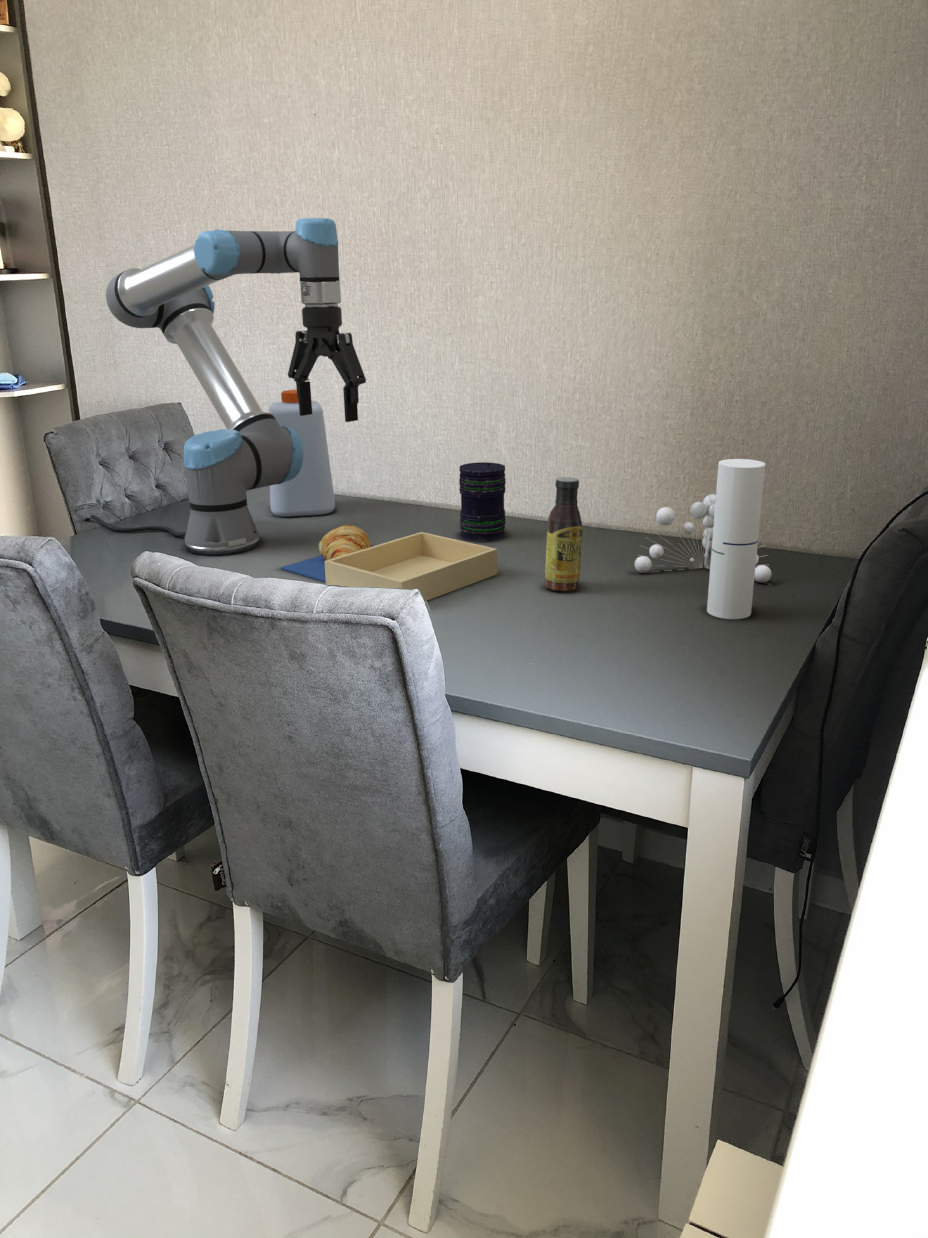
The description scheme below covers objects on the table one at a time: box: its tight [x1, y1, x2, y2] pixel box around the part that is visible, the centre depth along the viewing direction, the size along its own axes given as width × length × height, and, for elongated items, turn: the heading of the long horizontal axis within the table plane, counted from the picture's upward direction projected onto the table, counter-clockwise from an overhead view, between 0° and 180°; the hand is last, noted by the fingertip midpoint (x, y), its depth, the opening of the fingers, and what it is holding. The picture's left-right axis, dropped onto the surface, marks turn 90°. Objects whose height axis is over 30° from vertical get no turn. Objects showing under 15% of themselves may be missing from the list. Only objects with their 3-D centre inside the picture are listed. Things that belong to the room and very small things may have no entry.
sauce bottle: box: [544, 476, 584, 592], centre depth 171 cm, size 6×6×20 cm
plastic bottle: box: [268, 389, 336, 518], centre depth 228 cm, size 15×15×28 cm
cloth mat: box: [280, 544, 375, 583], centre depth 191 cm, size 14×22×1 cm, turn 139°
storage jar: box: [458, 461, 507, 543], centre depth 206 cm, size 10×10×15 cm
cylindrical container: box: [706, 458, 766, 620], centre depth 157 cm, size 7×7×25 cm
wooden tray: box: [325, 531, 498, 602], centre depth 179 cm, size 20×26×5 cm
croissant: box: [318, 524, 372, 561], centre depth 190 cm, size 21×10×8 cm, turn 6°
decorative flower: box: [633, 493, 772, 585], centre depth 182 cm, size 25×22×14 cm
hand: (328, 418), depth 192 cm, fingers open, 13 cm apart
